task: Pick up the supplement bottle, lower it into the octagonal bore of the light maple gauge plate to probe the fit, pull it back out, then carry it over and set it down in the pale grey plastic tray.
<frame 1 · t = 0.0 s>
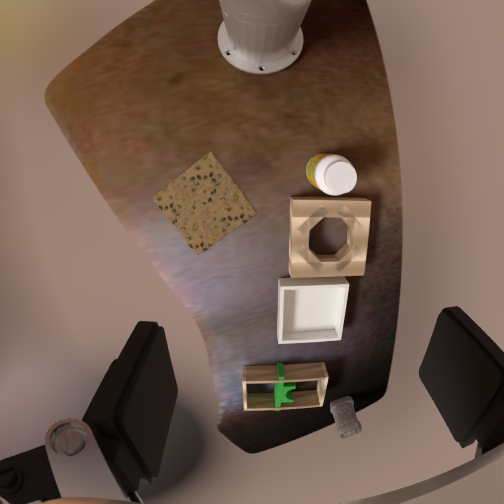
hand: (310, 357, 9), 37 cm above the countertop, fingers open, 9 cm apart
tray: (309, 306, 50), on the countertop
parts corral: (283, 380, 56), on the countertop
supplement bottle: (322, 170, 42), on the countertop
stone: (340, 400, 60), on the countertop
speckled tile: (204, 203, 45), on the countertop
pipe clamp: (283, 380, 56), touching parts corral
gauge plate: (326, 234, 46), on the countertop
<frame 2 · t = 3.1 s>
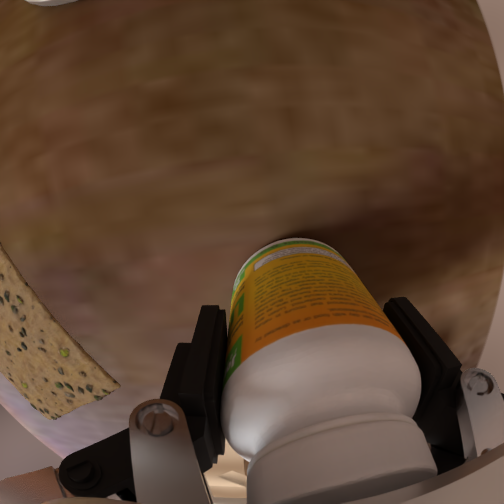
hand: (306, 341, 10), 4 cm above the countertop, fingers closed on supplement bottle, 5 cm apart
supplement bottle: (293, 291, 13), on the countertop, touching gripper
speckled tile: (25, 345, 15), on the countertop
gauge plate: (299, 426, 16), on the countertop
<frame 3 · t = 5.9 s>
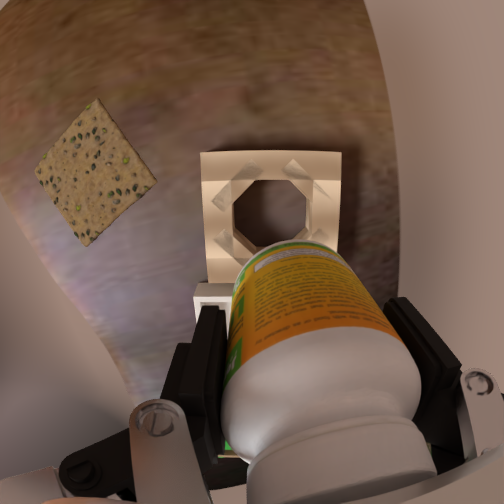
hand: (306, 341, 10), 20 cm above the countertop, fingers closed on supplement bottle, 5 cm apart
tray: (252, 326, 33), on the countertop
supplement bottle: (293, 292, 13), point 16 cm above the countertop, touching gripper
speckled tile: (90, 173, 27), on the countertop
gauge plate: (270, 212, 28), on the countertop
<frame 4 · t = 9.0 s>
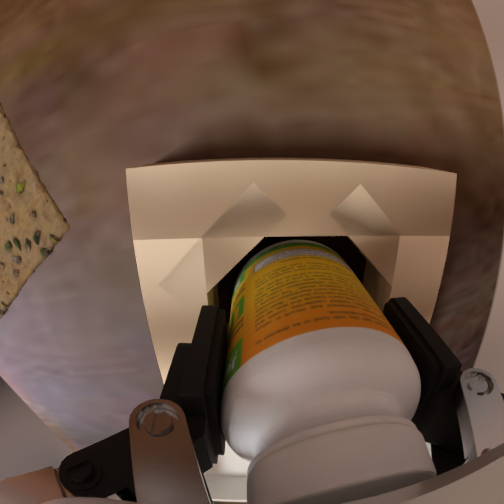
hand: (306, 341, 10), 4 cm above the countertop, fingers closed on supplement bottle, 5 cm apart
tray: (253, 443, 18), on the countertop
supplement bottle: (293, 292, 13), point 1 cm above the countertop, touching gripper
gauge plate: (292, 289, 14), on the countertop
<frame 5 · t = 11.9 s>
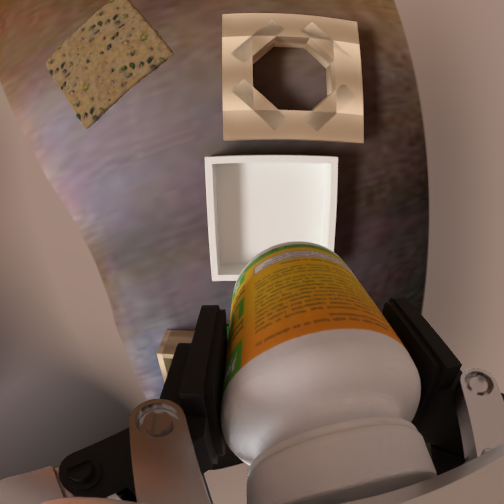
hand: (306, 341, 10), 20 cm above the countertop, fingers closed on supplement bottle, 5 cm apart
tray: (270, 212, 28), on the countertop
parts corral: (236, 360, 34), on the countertop
supplement bottle: (293, 294, 13), point 16 cm above the countertop, touching gripper
speckled tile: (104, 56, 23), on the countertop
gauge plate: (290, 79, 24), on the countertop
when the fingers open (5 cm above the countertop, at t = 14.7 s): supplement bottle drops 1 cm, resting on tray.
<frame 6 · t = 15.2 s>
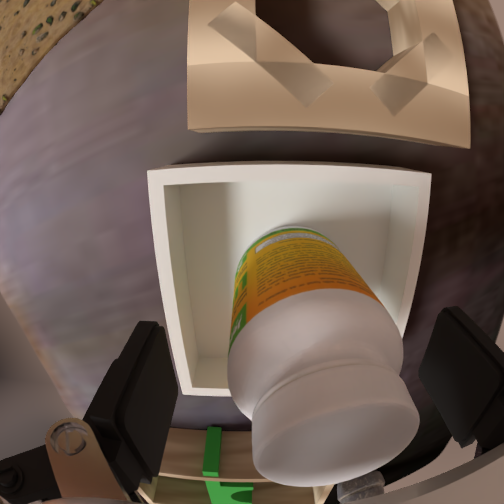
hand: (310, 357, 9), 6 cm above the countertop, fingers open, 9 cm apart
tray: (288, 273, 15), on the countertop
parts corral: (231, 457, 21), on the countertop
supplement bottle: (290, 275, 14), resting on tray
stone: (358, 478, 24), on the countertop
speckled tile: (22, 19, 9), on the countertop
pipe clamp: (231, 456, 21), on the countertop, touching parts corral
gauge plate: (326, 20, 10), on the countertop
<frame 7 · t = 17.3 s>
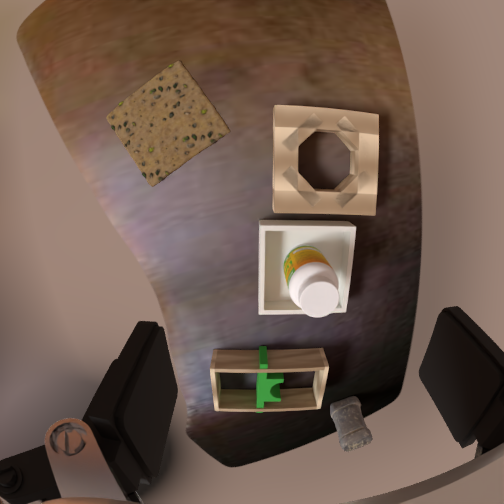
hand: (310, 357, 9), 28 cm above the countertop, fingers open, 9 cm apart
tray: (302, 263, 37), on the countertop
parts corral: (267, 372, 43), on the countertop
supplement bottle: (303, 263, 37), resting on tray
stone: (343, 402, 46), on the countertop
speckled tile: (165, 122, 32), on the countertop
pipe clamp: (267, 371, 43), on the countertop, touching parts corral
gauge plate: (322, 160, 33), on the countertop
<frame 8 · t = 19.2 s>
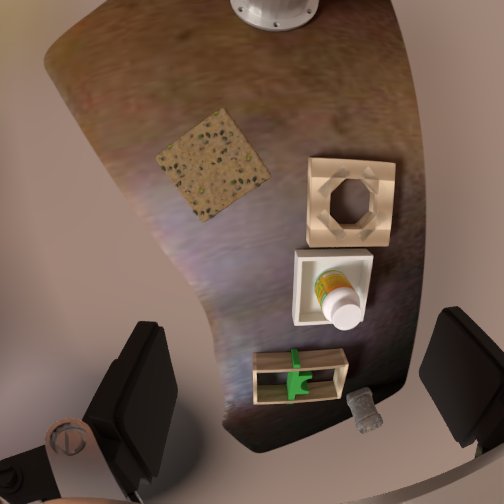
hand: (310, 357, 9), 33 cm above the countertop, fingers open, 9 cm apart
tray: (328, 282, 45), on the countertop
parts corral: (296, 369, 51), on the countertop
supplement bottle: (329, 283, 44), resting on tray
stone: (357, 392, 54), on the countertop
speckled tile: (213, 165, 39), on the countertop
pipe clamp: (296, 369, 51), on the countertop, touching parts corral
gauge plate: (347, 200, 40), on the countertop
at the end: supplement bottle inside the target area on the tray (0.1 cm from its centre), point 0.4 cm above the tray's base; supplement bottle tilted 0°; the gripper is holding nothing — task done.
